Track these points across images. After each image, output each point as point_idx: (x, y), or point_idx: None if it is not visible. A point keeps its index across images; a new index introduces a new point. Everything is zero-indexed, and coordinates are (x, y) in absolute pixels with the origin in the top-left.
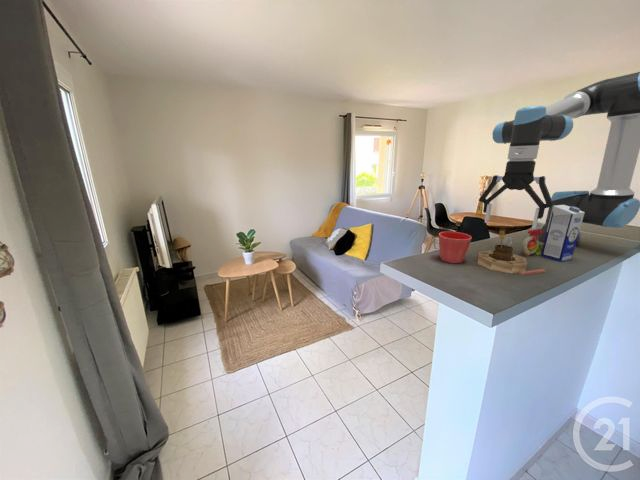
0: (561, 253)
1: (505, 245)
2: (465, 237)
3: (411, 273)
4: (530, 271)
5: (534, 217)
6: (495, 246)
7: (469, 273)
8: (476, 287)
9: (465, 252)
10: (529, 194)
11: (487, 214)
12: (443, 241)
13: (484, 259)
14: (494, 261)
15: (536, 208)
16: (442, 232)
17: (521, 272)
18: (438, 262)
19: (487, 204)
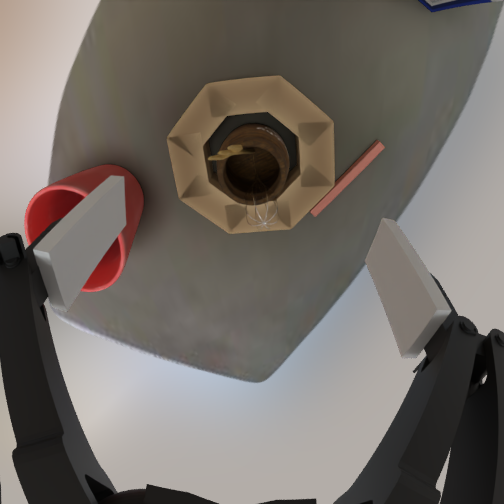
0: (444, 5)
1: (255, 146)
2: None
3: (107, 330)
4: (340, 187)
5: (385, 309)
6: (218, 180)
7: (190, 275)
8: (224, 333)
9: (137, 224)
10: (370, 465)
11: (99, 257)
12: None
13: (202, 213)
14: (235, 226)
15: (409, 349)
16: (27, 229)
17: (315, 213)
18: None
19: (52, 306)
